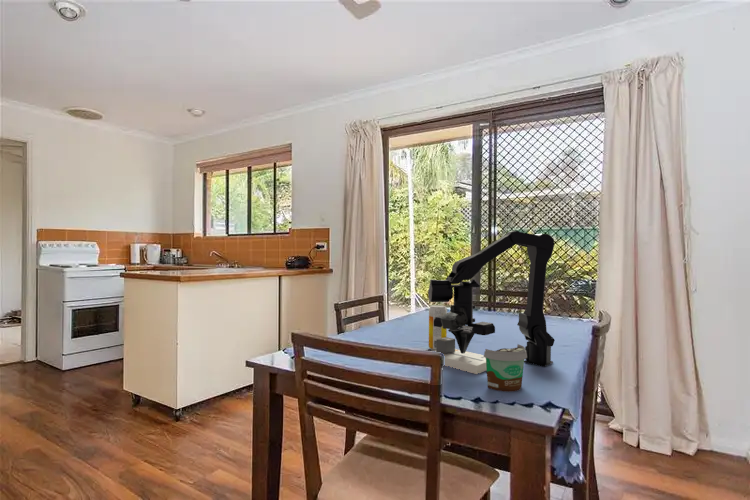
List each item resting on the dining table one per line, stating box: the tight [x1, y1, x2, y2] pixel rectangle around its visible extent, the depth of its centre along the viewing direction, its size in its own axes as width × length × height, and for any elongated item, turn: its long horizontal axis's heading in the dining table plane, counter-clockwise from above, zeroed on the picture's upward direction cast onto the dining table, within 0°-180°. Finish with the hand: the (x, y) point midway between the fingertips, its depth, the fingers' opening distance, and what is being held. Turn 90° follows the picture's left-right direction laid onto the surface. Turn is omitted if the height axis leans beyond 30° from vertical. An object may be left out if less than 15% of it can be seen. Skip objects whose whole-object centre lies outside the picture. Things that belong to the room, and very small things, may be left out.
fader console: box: [435, 348, 487, 375], centre depth 123 cm, size 18×11×2 cm, turn 44°
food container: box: [483, 343, 527, 393], centre depth 102 cm, size 12×6×10 cm, turn 117°
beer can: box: [428, 304, 448, 352], centre depth 140 cm, size 6×6×15 cm
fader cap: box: [436, 336, 456, 354], centre depth 127 cm, size 4×5×4 cm
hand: (462, 353), depth 123 cm, fingers closed
